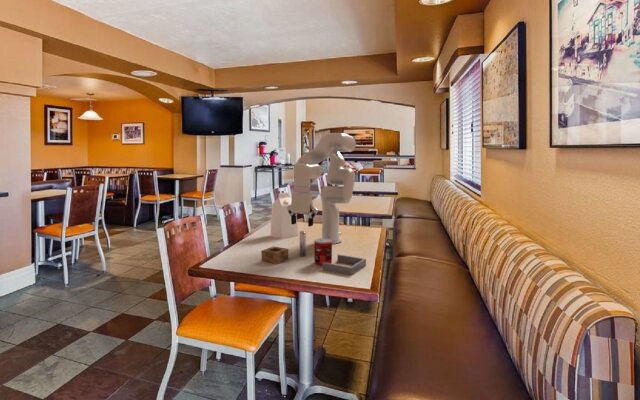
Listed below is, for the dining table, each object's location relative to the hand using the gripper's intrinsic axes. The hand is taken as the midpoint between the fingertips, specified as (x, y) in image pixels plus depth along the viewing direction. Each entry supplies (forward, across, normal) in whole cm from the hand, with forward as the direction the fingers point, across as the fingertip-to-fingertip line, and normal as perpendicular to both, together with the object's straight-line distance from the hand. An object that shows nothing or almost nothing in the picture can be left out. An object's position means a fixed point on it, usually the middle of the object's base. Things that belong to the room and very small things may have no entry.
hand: (302, 225), depth 179 cm
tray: (+16, +26, -5) cm, 31 cm away
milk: (+15, -33, +31) cm, 48 cm away
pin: (+15, 0, +1) cm, 15 cm away
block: (+16, -7, -12) cm, 21 cm away
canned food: (+16, +15, -5) cm, 22 cm away
